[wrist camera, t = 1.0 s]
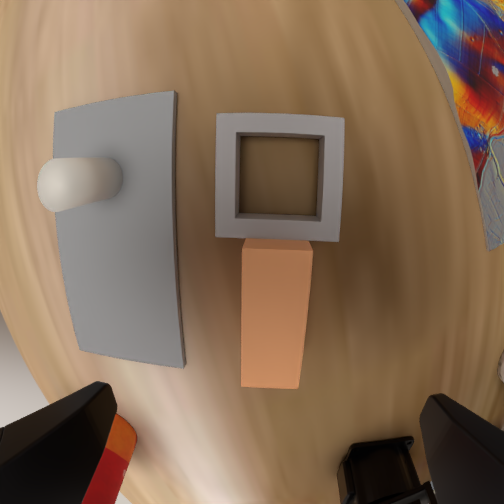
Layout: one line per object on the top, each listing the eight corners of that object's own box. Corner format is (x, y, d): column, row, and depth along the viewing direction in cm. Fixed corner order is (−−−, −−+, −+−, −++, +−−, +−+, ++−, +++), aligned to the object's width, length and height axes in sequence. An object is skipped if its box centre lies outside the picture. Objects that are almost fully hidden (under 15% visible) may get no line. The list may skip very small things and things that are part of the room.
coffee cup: (96, 446, 25) (43, 542, 11) (63, 392, 23) (-15, 493, 9) (161, 457, 24) (117, 575, 10) (130, 401, 22) (56, 538, 8)
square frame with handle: (318, 350, 19) (326, 388, 16) (223, 347, 20) (213, 383, 16) (336, 123, 16) (354, 111, 12) (223, 119, 16) (208, 105, 12)
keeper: (177, 92, 16) (137, 65, 10) (185, 363, 21) (162, 417, 15) (59, 113, 16) (4, 105, 11) (83, 346, 21) (46, 385, 16)
